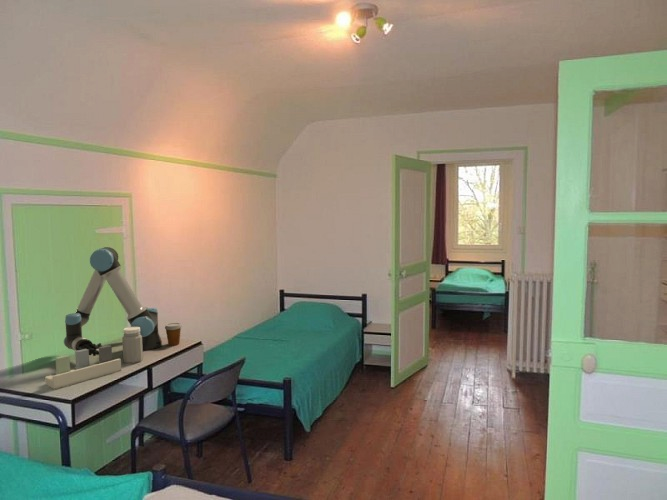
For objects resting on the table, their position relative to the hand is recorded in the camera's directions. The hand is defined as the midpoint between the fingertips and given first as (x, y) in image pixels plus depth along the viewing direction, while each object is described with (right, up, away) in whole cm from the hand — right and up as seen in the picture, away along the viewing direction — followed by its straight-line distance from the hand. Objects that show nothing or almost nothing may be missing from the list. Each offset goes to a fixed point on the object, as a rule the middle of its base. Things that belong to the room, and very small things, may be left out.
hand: (103, 353), depth 235 cm
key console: (-6, -10, -7) cm, 13 cm away
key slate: (-7, -9, -6) cm, 13 cm away
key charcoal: (+2, -8, 0) cm, 8 cm away
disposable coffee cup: (+19, -5, +48) cm, 52 cm away
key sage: (-11, -9, -16) cm, 21 cm away
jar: (+8, -8, +16) cm, 20 cm away
